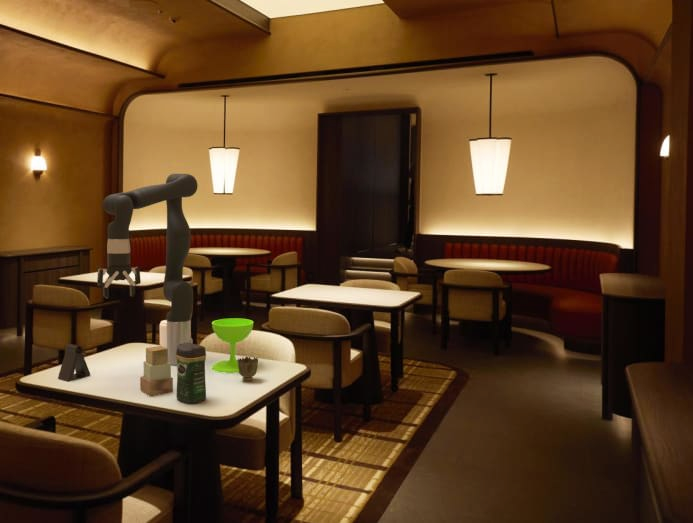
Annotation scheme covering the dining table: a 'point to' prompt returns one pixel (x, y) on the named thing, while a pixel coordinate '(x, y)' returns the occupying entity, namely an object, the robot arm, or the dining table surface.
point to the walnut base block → (156, 386)
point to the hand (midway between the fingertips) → (119, 297)
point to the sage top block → (157, 371)
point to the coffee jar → (191, 373)
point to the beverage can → (163, 333)
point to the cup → (247, 368)
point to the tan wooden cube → (156, 355)
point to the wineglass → (231, 339)
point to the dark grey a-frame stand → (73, 364)
